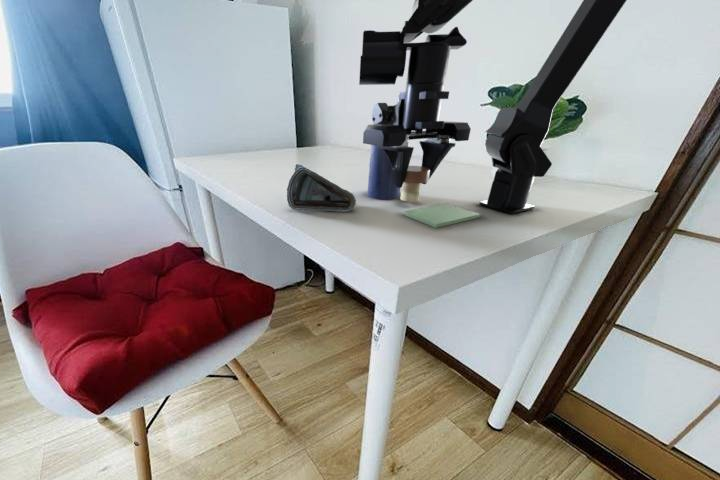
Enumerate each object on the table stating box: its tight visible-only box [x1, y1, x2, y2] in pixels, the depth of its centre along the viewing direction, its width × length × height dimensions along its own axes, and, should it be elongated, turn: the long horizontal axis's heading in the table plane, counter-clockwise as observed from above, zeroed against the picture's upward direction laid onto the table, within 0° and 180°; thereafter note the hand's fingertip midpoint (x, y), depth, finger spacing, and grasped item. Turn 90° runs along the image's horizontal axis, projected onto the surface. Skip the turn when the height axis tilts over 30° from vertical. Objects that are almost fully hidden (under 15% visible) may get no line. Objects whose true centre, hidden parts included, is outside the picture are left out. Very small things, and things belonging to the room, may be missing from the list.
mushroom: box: [399, 165, 430, 203], centre depth 55 cm, size 6×6×6 cm
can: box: [367, 145, 401, 200], centre depth 59 cm, size 6×6×11 cm
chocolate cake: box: [286, 163, 357, 213], centre depth 56 cm, size 10×7×12 cm
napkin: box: [403, 202, 481, 229], centre depth 50 cm, size 10×7×1 cm
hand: (411, 185), depth 55 cm, fingers closed on mushroom, 5 cm apart
